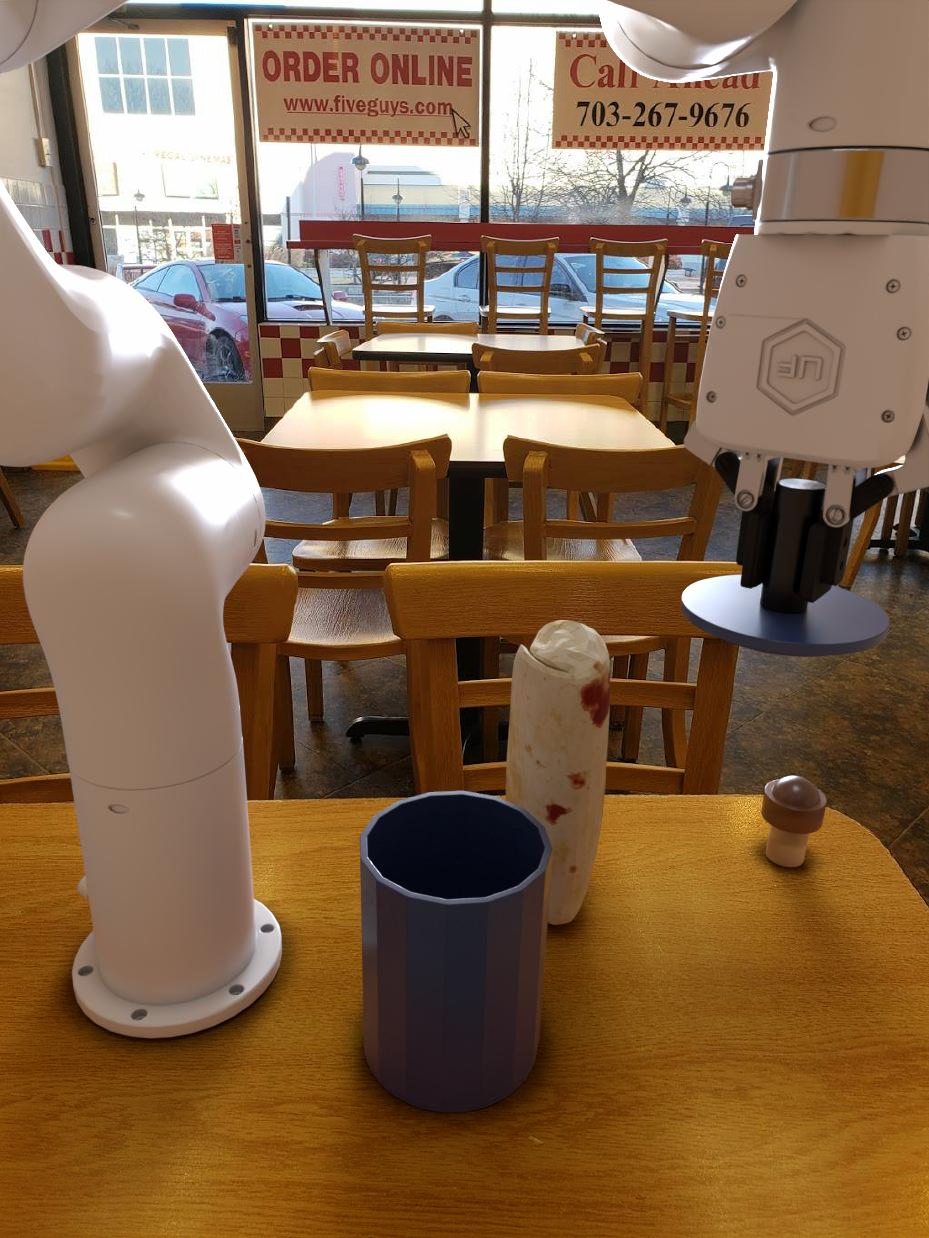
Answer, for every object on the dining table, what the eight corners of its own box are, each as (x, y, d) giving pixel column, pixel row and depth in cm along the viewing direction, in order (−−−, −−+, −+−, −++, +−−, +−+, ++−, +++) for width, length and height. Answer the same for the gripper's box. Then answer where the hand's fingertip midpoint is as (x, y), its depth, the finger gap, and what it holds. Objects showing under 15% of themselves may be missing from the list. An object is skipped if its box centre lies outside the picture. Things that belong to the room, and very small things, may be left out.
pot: (327, 1048, 53) (319, 849, 48) (439, 954, 61) (442, 772, 56) (465, 1147, 48) (472, 932, 43) (570, 1030, 55) (586, 835, 50)
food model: (607, 938, 63) (634, 664, 55) (507, 939, 62) (521, 664, 55) (584, 851, 72) (604, 606, 64) (497, 851, 71) (507, 605, 64)
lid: (645, 630, 49) (659, 485, 46) (727, 581, 56) (743, 454, 54) (849, 686, 43) (879, 523, 40) (909, 623, 51) (938, 482, 48)
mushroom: (745, 858, 71) (757, 780, 69) (767, 833, 75) (780, 758, 72) (803, 881, 69) (818, 802, 66) (823, 854, 72) (838, 777, 70)
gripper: (644, 201, 44) (614, 573, 51) (1033, 194, 35) (933, 649, 42) (712, 208, 50) (676, 543, 56) (1062, 204, 40) (970, 605, 47)
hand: (786, 585), depth 49 cm, fingers closed on lid, 2 cm apart
